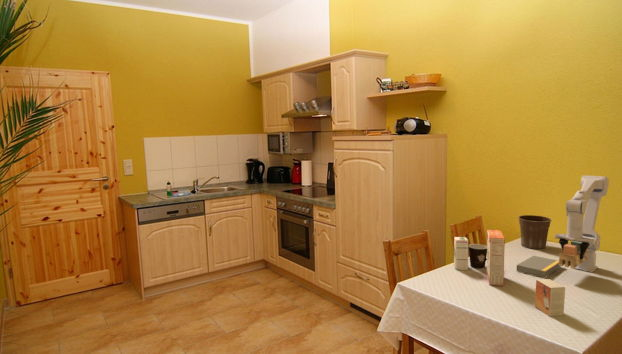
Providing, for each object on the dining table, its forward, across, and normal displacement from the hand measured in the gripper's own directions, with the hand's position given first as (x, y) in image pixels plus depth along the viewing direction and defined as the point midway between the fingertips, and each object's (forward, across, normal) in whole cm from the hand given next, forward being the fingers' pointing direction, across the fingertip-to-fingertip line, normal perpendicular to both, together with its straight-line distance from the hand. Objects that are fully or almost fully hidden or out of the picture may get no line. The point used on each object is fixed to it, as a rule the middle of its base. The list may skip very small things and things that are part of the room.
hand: (573, 257), depth 175 cm
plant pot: (+9, -30, +38) cm, 49 cm away
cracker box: (+9, -22, -28) cm, 37 cm away
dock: (+9, -14, 0) cm, 16 cm away
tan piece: (+2, 0, 0) cm, 2 cm away
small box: (+9, +5, -44) cm, 45 cm away
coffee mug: (+9, -34, -16) cm, 38 cm away
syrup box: (+9, -40, -24) cm, 47 cm away
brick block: (-2, 0, -5) cm, 5 cm away
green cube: (-2, 0, +4) cm, 5 cm away
